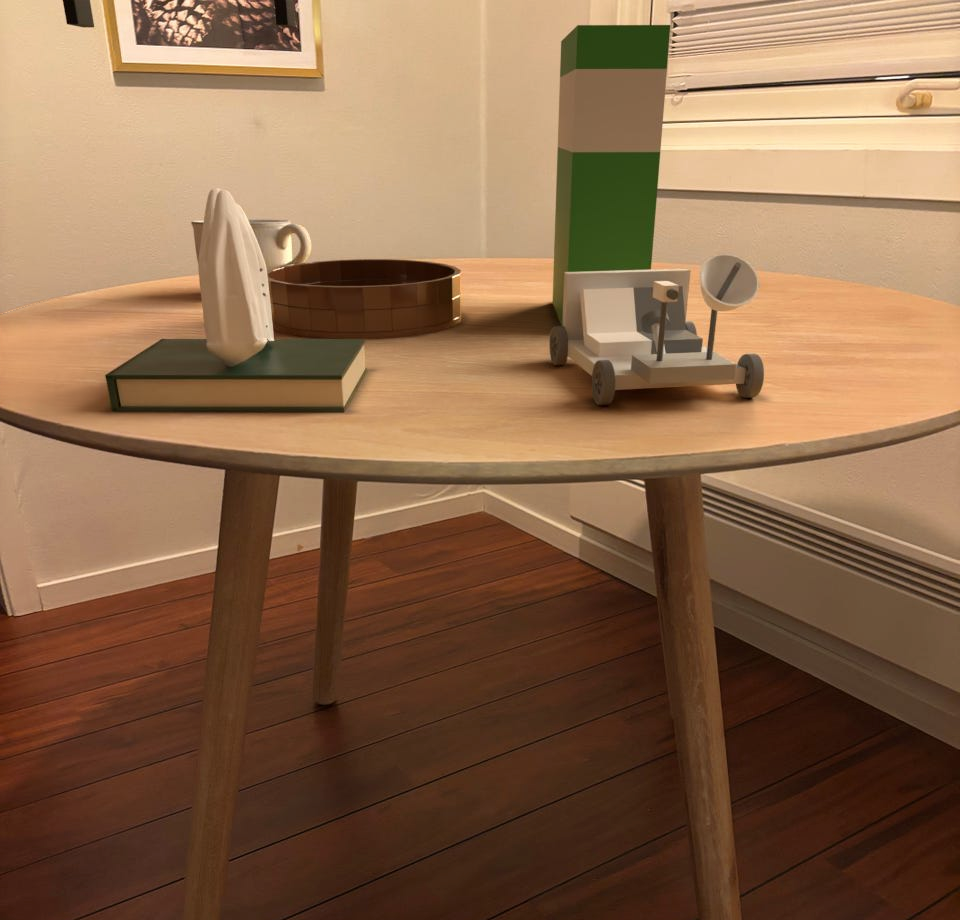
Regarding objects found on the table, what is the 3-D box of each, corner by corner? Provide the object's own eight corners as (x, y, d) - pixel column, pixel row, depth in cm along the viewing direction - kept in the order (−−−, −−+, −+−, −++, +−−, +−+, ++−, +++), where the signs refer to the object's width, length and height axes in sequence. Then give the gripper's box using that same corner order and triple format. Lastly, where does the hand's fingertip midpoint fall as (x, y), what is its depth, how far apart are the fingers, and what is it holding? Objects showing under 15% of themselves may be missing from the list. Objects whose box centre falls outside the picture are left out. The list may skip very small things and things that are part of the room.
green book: (111, 411, 65) (104, 374, 64) (166, 371, 75) (161, 338, 74) (344, 412, 64) (341, 375, 63) (366, 371, 75) (364, 338, 74)
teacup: (181, 296, 107) (170, 219, 103) (252, 284, 115) (244, 212, 111) (268, 308, 100) (259, 226, 96) (337, 294, 108) (332, 218, 104)
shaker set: (268, 373, 64) (248, 192, 58) (205, 376, 63) (178, 193, 58) (276, 338, 74) (260, 181, 69) (222, 339, 73) (201, 182, 68)
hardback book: (552, 303, 102) (561, 41, 91) (620, 302, 102) (638, 41, 91) (565, 335, 87) (577, 25, 75) (645, 335, 87) (670, 24, 75)
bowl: (246, 339, 86) (240, 287, 84) (288, 303, 103) (284, 259, 101) (456, 339, 86) (456, 287, 83) (464, 303, 102) (464, 258, 100)
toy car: (801, 257, 59) (624, 261, 57) (778, 412, 64) (613, 421, 62) (694, 228, 75) (552, 231, 73) (682, 355, 80) (548, 360, 78)
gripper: (-141, -471, 49) (-33, 20, 59) (341, -476, 48) (365, 21, 58) (-64, -402, 55) (21, 29, 66) (362, -405, 55) (379, 31, 65)
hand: (183, 27), depth 62 cm, fingers open, 13 cm apart
